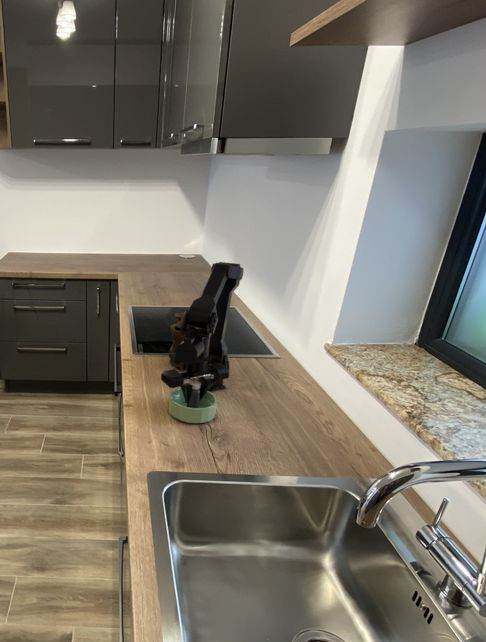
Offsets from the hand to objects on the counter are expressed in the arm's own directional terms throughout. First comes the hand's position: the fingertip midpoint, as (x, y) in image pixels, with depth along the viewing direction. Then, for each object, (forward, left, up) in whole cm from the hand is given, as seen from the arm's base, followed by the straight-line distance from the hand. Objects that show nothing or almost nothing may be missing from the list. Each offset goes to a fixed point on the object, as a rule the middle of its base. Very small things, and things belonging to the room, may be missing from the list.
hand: (192, 401), depth 127 cm
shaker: (0, 0, -2) cm, 2 cm away
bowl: (0, 0, -4) cm, 4 cm away
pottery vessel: (-15, -31, -4) cm, 35 cm away
